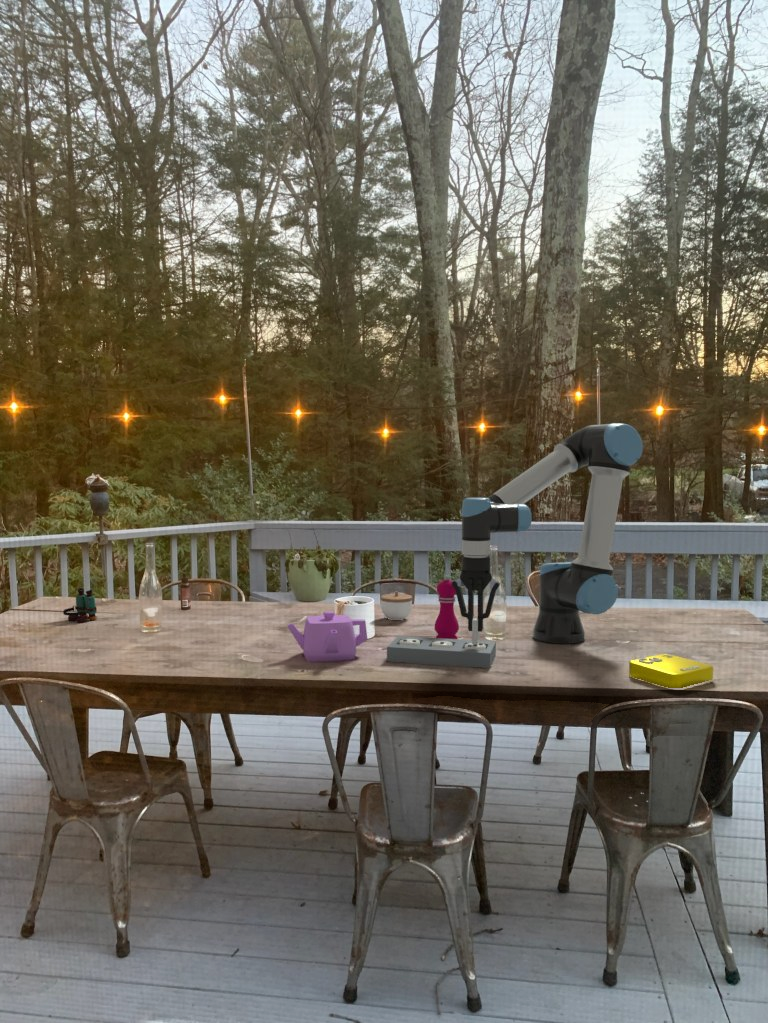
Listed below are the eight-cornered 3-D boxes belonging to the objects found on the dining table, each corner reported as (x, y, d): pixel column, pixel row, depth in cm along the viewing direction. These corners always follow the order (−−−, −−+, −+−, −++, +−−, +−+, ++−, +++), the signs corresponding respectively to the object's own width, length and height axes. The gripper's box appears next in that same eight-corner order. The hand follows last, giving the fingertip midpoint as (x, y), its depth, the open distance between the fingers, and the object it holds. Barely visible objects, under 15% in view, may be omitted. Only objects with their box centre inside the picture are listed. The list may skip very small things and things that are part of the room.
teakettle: (371, 653, 213) (371, 610, 212) (334, 667, 199) (333, 620, 198) (323, 645, 222) (323, 603, 221) (284, 658, 208) (284, 613, 207)
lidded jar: (414, 616, 262) (415, 589, 262) (408, 623, 252) (408, 595, 251) (384, 615, 265) (384, 588, 264) (377, 621, 254) (377, 593, 254)
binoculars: (56, 593, 253) (82, 586, 261) (60, 624, 254) (86, 615, 263) (73, 596, 248) (99, 588, 256) (77, 627, 250) (103, 618, 258)
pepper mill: (457, 645, 222) (457, 577, 220) (432, 644, 223) (433, 576, 222) (460, 639, 229) (460, 573, 227) (436, 638, 230) (436, 572, 229)
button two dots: (421, 651, 211) (421, 638, 211) (417, 657, 206) (417, 643, 205) (402, 650, 213) (402, 637, 212) (397, 655, 207) (397, 641, 207)
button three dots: (486, 656, 207) (486, 642, 206) (484, 661, 201) (484, 647, 201) (466, 654, 208) (466, 641, 208) (463, 660, 203) (463, 646, 202)
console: (495, 655, 210) (495, 641, 210) (490, 668, 197) (490, 653, 197) (398, 649, 217) (398, 635, 216) (386, 661, 204) (386, 646, 204)
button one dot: (453, 654, 209) (454, 640, 209) (450, 659, 204) (450, 645, 203) (433, 652, 210) (433, 639, 210) (430, 658, 205) (430, 644, 205)
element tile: (676, 693, 178) (676, 673, 177) (625, 677, 190) (625, 658, 190) (716, 683, 185) (717, 664, 185) (664, 669, 198) (665, 651, 198)
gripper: (502, 554, 205) (501, 641, 206) (453, 553, 208) (453, 638, 210) (499, 558, 198) (498, 647, 199) (449, 556, 201) (449, 645, 202)
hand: (475, 643), depth 204 cm, fingers closed
